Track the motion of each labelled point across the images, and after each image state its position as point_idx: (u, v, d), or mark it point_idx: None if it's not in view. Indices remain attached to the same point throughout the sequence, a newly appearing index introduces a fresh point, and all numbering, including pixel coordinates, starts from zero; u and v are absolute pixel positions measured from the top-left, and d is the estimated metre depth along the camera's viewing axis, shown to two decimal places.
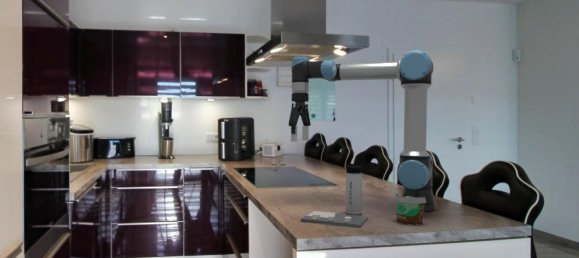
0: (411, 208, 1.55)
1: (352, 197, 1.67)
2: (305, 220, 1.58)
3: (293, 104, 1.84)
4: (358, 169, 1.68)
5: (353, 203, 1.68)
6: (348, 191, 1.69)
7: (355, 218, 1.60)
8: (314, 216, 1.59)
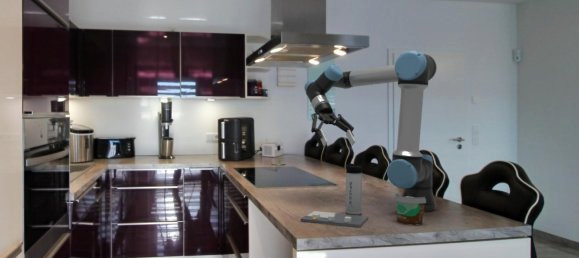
0: (411, 208, 1.55)
1: (352, 197, 1.67)
2: (305, 220, 1.58)
3: (312, 116, 1.87)
4: (358, 169, 1.68)
5: (353, 203, 1.68)
6: (348, 191, 1.69)
7: (355, 218, 1.60)
8: (314, 216, 1.59)
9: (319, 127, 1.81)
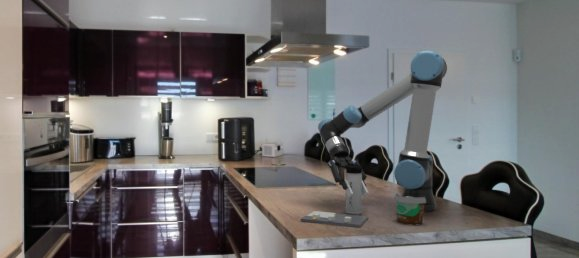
0: (411, 208, 1.55)
1: (352, 197, 1.67)
2: (305, 220, 1.58)
3: (328, 163, 1.75)
4: (358, 169, 1.68)
5: (353, 203, 1.68)
6: None
7: (355, 218, 1.60)
8: (314, 216, 1.59)
9: (343, 176, 1.70)
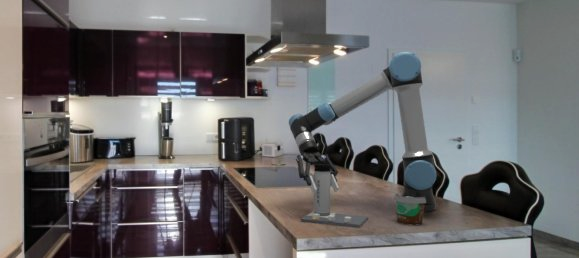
0: (411, 208, 1.55)
1: (320, 196, 1.62)
2: (305, 220, 1.58)
3: (296, 158, 1.70)
4: (326, 167, 1.62)
5: (321, 202, 1.62)
6: None
7: (355, 218, 1.60)
8: (314, 216, 1.59)
9: (307, 172, 1.65)
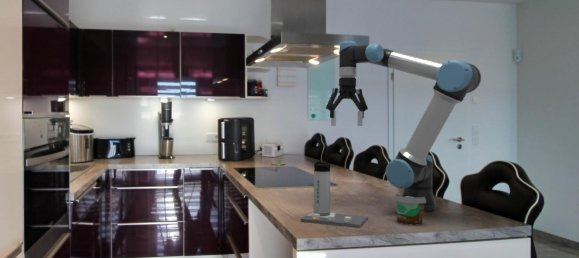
0: (411, 208, 1.55)
1: (320, 196, 1.62)
2: (305, 220, 1.58)
3: (333, 89, 1.88)
4: (326, 167, 1.62)
5: (320, 202, 1.62)
6: (315, 190, 1.63)
7: (355, 218, 1.60)
8: (314, 216, 1.59)
9: (334, 107, 1.86)
